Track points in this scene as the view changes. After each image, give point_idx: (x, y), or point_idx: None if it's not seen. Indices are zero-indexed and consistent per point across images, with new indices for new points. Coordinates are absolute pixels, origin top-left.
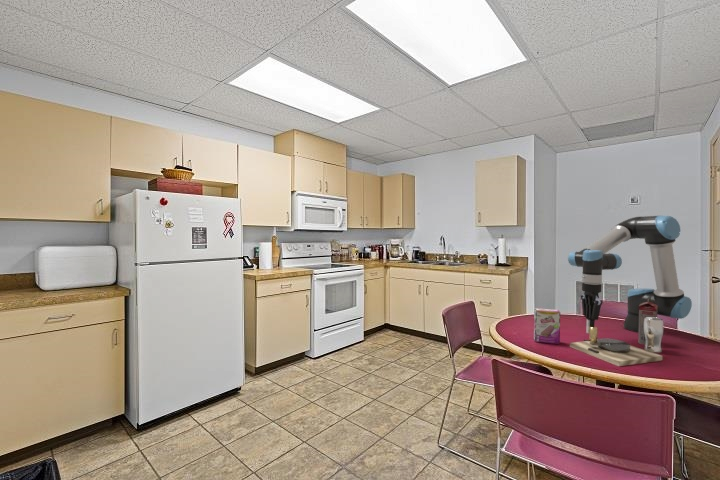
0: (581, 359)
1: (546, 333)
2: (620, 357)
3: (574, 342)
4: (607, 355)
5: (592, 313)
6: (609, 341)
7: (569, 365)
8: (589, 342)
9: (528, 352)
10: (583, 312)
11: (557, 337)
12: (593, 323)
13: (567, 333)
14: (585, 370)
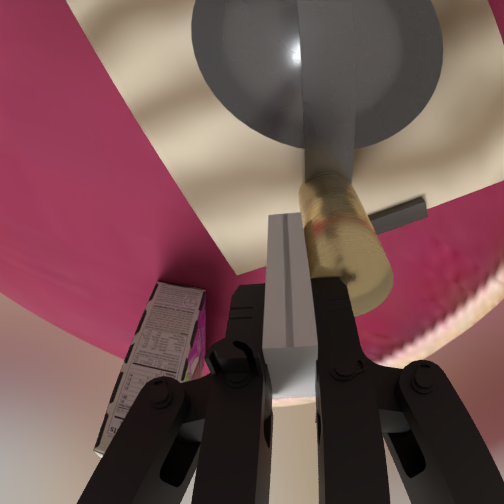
0: (422, 276)
1: (199, 371)
2: (487, 118)
3: (220, 248)
4: (459, 172)
5: (418, 490)
6: (316, 58)
7: (456, 327)
8: (192, 150)
9: None
10: (168, 458)
11: (199, 325)
12: (352, 325)
13: (6, 188)
14: (497, 299)
